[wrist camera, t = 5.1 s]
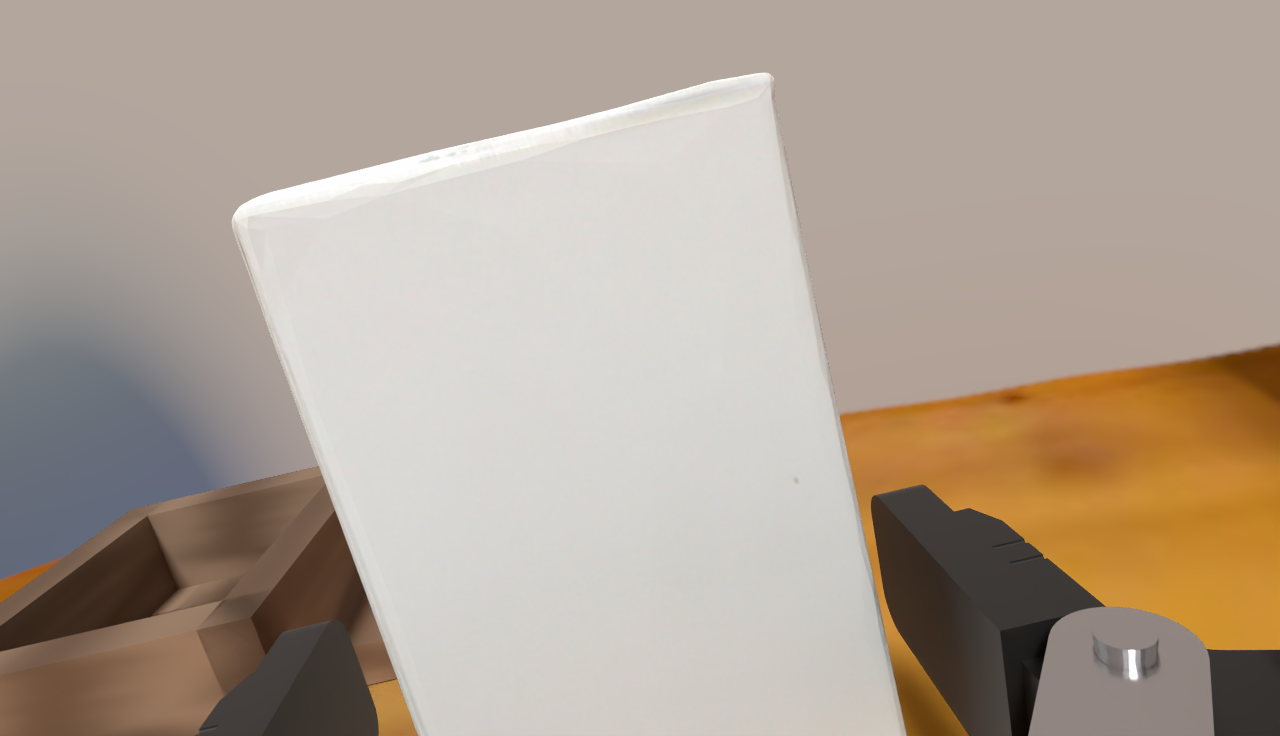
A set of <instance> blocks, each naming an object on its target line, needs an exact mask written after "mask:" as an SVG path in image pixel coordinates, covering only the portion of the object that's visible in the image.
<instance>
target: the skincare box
mask: <svg viewBox="0 0 1280 736" xmlns="http://www.w3.org/2000/svg"><path fill="white" fill-rule="evenodd" d="M232 227H233V232H234V234H235V237H236V240H237V243H238V246H239V248H240V251H241V254H242V256H243V259H244V262H245V265H246V268H247V270H248V273H249V276H250V279H251V281H252V284H253V287H254V290H255V292H256V295H257V298H258V301H259V304H260V307H261V309H262V312H263V315H264V318H265V320H266V323H267V326H268V329H269V331H270V334H271V337H272V339H273V342H274V345H275V348H276V350H277V353H278V356H279V359H280V361H281V364H282V367H283V369H284V372H285V375H286V378H287V380H288V383H289V386H290V388H291V391H292V394H293V397H294V399H295V402H296V405H297V408H298V410H299V413H300V416H301V418H302V421H303V424H304V427H305V429H306V431H307V435H308V437H309V440H310V443H311V446H312V448H313V451H314V454H315V456H316V459H317V462H318V465H319V467H320V470H321V473H322V475H323V478H324V481H325V484H326V486H327V489H328V492H329V494H330V497H331V500H332V503H333V505H334V508H335V511H336V513H337V516H338V519H339V522H340V524H341V527H342V530H343V532H344V535H345V538H346V541H347V543H348V546H349V549H350V551H351V554H352V557H353V560H354V562H355V565H356V568H357V570H358V573H359V576H360V579H361V581H362V584H363V587H364V589H365V592H366V595H367V598H368V600H369V603H370V606H371V608H372V611H373V614H374V617H375V619H376V622H377V625H378V627H379V630H380V633H381V636H382V638H383V641H384V644H385V646H386V649H387V652H388V655H389V657H390V660H391V663H392V666H393V668H394V671H395V674H396V676H397V679H398V682H399V685H400V687H401V690H402V693H403V696H404V698H405V701H406V704H407V706H408V709H409V712H410V715H411V717H412V720H413V723H414V726H415V728H416V731H417V734H418V736H907V733H906V728H905V723H904V718H903V714H902V709H901V705H900V700H899V695H898V691H897V686H896V681H895V677H894V672H893V667H892V663H891V658H890V653H889V649H888V644H887V639H886V635H885V630H884V625H883V620H882V616H881V611H880V606H879V601H878V596H877V592H876V587H875V582H874V578H873V573H872V568H871V563H870V559H869V554H868V549H867V545H866V540H865V535H864V530H863V525H862V520H861V516H860V511H859V506H858V501H857V496H856V492H855V487H854V482H853V478H852V473H851V468H850V464H849V459H848V454H847V450H846V445H845V440H844V436H843V431H842V426H841V421H840V416H839V412H838V407H837V402H836V397H835V392H834V388H833V383H832V378H831V373H830V368H829V363H828V358H827V354H826V349H825V344H824V339H823V334H822V330H821V325H820V320H819V315H818V310H817V305H816V300H815V296H814V291H813V286H812V281H811V276H810V271H809V266H808V261H807V257H806V252H805V246H804V242H803V237H802V232H801V227H800V222H799V217H798V212H797V207H796V202H795V197H794V192H793V187H792V182H791V177H790V172H789V167H788V162H787V157H786V153H785V147H784V143H783V138H782V133H781V128H780V123H779V117H778V111H777V106H776V100H775V79H774V78H773V76H772V75H770V74H768V73H757V74H751V75H745V76H740V77H734V78H729V79H723V80H717V81H712V82H708V83H704V84H701V85H697V86H694V87H690V88H687V89H683V90H679V91H676V92H672V93H669V94H665V95H662V96H658V97H655V98H651V99H648V100H644V101H640V102H637V103H633V104H630V105H626V106H623V107H619V108H616V109H611V110H607V111H604V112H600V113H596V114H592V115H588V116H584V117H581V118H576V119H573V120H569V121H565V122H561V123H557V124H553V125H548V126H543V127H539V128H535V129H531V130H526V131H522V132H517V133H512V134H508V135H504V136H499V137H495V138H491V139H486V140H482V141H477V142H473V143H469V144H464V145H459V146H455V147H451V148H447V149H442V150H437V151H433V152H429V153H425V154H422V155H417V156H414V157H409V158H405V159H401V160H398V161H393V162H390V163H385V164H382V165H378V166H374V167H370V168H366V169H362V170H358V171H354V172H350V173H346V174H342V175H338V176H334V177H330V178H326V179H322V180H318V181H314V182H310V183H306V184H302V185H298V186H294V187H290V188H287V189H282V190H278V191H274V192H270V193H267V194H265V195H262V196H259V197H256V198H254V199H252V200H250V201H249V202H247V203H245V204H243V205H241V206H240V207H239V208H238V210H237V211H236V213H235V214H234V216H233V218H232Z"/></svg>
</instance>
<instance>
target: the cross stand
mask: <svg viewBox="0 0 1280 736" xmlns="http://www.w3.org/2000/svg"><path fill="white" fill-rule="evenodd" d="M330 620H339V621H340V622H341V623H343V625H344V626H345V628H346V629H347V631H348V634H349V636H350V639H351V642H352V644H353V647H354V650H355V653H356V655H357V658H358V661H359V664H360V667H361V669H362V672H363V675H364V678H365V680H366V683H367V685H371V684H375V683H380V682H384V681H388V680H393V679H397V676H396V674H395V671H394V668H393V666H392V663H391V660H390V657H389V655H388V652H387V649H386V646H385V644H384V641H383V638H382V636H381V633H380V630H379V627H378V625H377V622H376V619H375V617H374V614H373V611H372V608H371V606H370V603H369V600H368V598H367V595H366V592H365V589H364V587H363V584H362V581H361V579H360V576H359V573H358V570H357V568H356V565H355V562H354V560H353V557H352V554H351V551H350V549H349V546H348V543H347V541H346V538H345V535H344V532H343V530H342V527H341V524H340V522H339V519H338V516H337V513H336V511H335V508H334V505H333V503H332V500H331V497H330V494H329V492H328V489H327V486H326V484H325V481H324V478H323V475H322V473H321V470H320V467H319V466H318V467H313V468H308V469H304V470H300V471H296V472H291V473H287V474H282V475H278V476H274V477H269V478H265V479H261V480H256V481H252V482H248V483H243V484H239V485H235V486H231V487H226V488H221V489H218V490H213V491H208V492H204V493H200V494H195V495H191V496H187V497H182V498H179V499H174V500H169V501H165V502H161V503H156V504H153V505H148V506H143V507H139V508H135V509H132V510H131V511H129V512H128V513H126V514H125V515H124V516H122V517H121V518H119V519H118V520H117V521H115V522H114V523H112V524H111V525H109V526H108V527H107V528H105V529H104V530H103V531H101V532H100V533H98V534H97V535H96V536H94V537H93V538H91V539H90V540H88V541H87V542H86V543H84V544H83V545H81V546H80V547H79V548H77V549H76V550H74V551H73V552H72V553H70V554H69V555H67V556H66V557H65V558H63V559H62V560H60V561H59V562H58V563H56V564H55V565H53V566H52V567H50V568H49V569H48V570H46V571H45V572H43V573H42V574H41V575H39V576H38V577H36V578H35V579H34V580H32V581H31V582H29V583H28V584H27V585H25V586H24V587H22V588H21V589H20V590H18V591H17V592H15V593H14V594H13V595H11V596H10V597H8V598H7V599H6V600H4V601H3V602H1V603H0V736H194V735H197V734H199V728H200V727H201V726H202V724H203V723H204V721H205V720H206V719H207V717H208V716H209V714H210V713H211V712H212V710H213V709H214V707H215V706H216V705H217V703H218V702H219V701H220V700H221V699H222V698H223V697H224V696H225V695H227V694H228V693H229V692H230V691H231V690H232V689H234V688H235V687H236V686H237V685H238V684H239V683H240V682H242V681H243V680H244V679H245V678H246V677H247V676H248V675H250V674H252V673H254V672H255V671H256V669H257V668H258V666H259V665H260V664H261V662H262V661H263V659H264V658H265V656H266V655H267V653H268V652H269V650H270V649H271V647H272V646H273V645H274V643H275V642H276V640H277V639H278V637H279V636H280V635H281V634H282V633H283V632H284V631H287V630H292V629H296V628H300V627H305V626H309V625H313V624H317V623H322V622H326V621H330Z"/></svg>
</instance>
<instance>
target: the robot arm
mask: <svg viewBox="0 0 1280 736" xmlns="http://www.w3.org/2000/svg"><path fill="white" fill-rule="evenodd" d="M871 512H872V519H873V525H874V532H875V538H876V545H877V551H878V557H879V564H880V570H881V577H882V583H883V589H884V594H885V598H886V602H887V605H888V608H889V611H890V614H891V617H892V619H893V621H894V624H895V626H896V628H897V630H898V631H899V633H900V635H901V636H902V638H903V639H904V640H905V642H906V643H907V645H908V646H909V648H910V649H911V651H912V652H913V654H914V655H915V657H916V658H917V660H918V661H919V663H920V664H921V665H922V667H923V668H924V670H925V671H926V673H927V674H928V676H929V677H930V679H931V680H932V682H933V683H934V685H935V686H936V687H937V689H938V690H939V692H940V693H941V695H942V696H943V698H944V699H945V701H946V702H947V704H948V705H949V707H950V708H951V710H952V711H953V712H954V714H955V715H956V717H957V718H958V720H959V721H960V723H961V724H962V726H963V727H964V729H965V730H966V732H967V733H968V734H969V736H1280V650H1210V649H1206V647H1205V646H1204V644H1203V643H1202V642H1201V640H1200V639H1199V638H1198V637H1197V636H1196V635H1195V634H1193V633H1192V632H1191V631H1190V630H1188V629H1187V628H1185V627H1184V626H1182V625H1180V624H1179V623H1177V622H1174V621H1172V620H1170V619H1168V618H1166V617H1163V616H1160V615H1157V614H1154V613H1150V612H1147V611H1143V610H1137V609H1132V608H1123V607H1106V606H1104V605H1103V604H1102V603H1101V602H1100V601H1098V600H1097V599H1096V598H1095V597H1094V596H1092V595H1091V594H1090V593H1089V592H1088V591H1086V590H1085V589H1084V588H1083V587H1081V586H1080V585H1079V584H1078V583H1077V582H1075V581H1074V580H1073V579H1072V578H1071V577H1069V576H1068V575H1067V574H1066V573H1065V572H1063V571H1062V570H1061V569H1060V568H1059V567H1057V566H1056V565H1055V564H1054V563H1053V562H1051V561H1050V560H1049V559H1048V558H1047V559H1044V557H1043V554H1042V553H1040V552H1039V551H1038V550H1037V549H1036V548H1034V547H1033V546H1032V545H1031V544H1030V543H1025V541H1024V538H1022V537H1021V536H1020V535H1019V534H1018V533H1016V532H1015V531H1014V530H1013V529H1011V528H1010V527H1009V526H1008V525H1007V524H1005V523H1004V522H1003V521H1002V520H999V519H996V518H994V517H991V516H988V515H986V514H983V513H980V512H978V511H975V510H972V509H970V508H968V509H964V510H959V511H955V512H954V511H953V510H952V509H951V508H949V507H948V506H947V505H946V504H945V503H944V502H943V501H942V500H941V499H940V498H938V497H937V496H936V495H935V494H934V493H933V492H932V491H931V490H930V489H929V488H928V487H926V486H925V485H918V486H913V487H909V488H905V489H900V490H896V491H892V492H887V493H883V494H879V495H874V496H873V497H872V500H871ZM378 734H379V732H378V719H377V713H376V709H375V705H374V703H373V700H372V697H371V694H370V691H369V689H368V686H367V683H366V680H365V678H364V675H363V672H362V669H361V667H360V664H359V661H358V658H357V655H356V653H355V650H354V647H353V644H352V642H351V639H350V636H349V634H348V631H347V629H346V628H345V626H344V625H343V623H341V622H340V621H339V620H330V621H326V622H322V623H317V624H313V625H309V626H305V627H300V628H296V629H292V630H287V631H284V632H283V633H282V634H281V635H280V636H279V637H278V639H277V640H276V642H275V643H274V645H273V646H272V647H271V649H270V650H269V652H268V653H267V655H266V656H265V658H264V659H263V661H262V662H261V664H260V665H259V666H258V668H257V669H256V671H255V672H254V673H252V674H250V675H248V676H247V677H246V678H245V679H244V680H243V681H242V682H240V683H239V684H238V685H237V686H236V687H235V688H234V689H232V690H231V691H230V692H229V693H228V694H227V695H225V696H224V697H223V698H222V699H221V700H220V701H219V702H218V703H217V705H216V706H215V707H214V709H213V710H212V712H211V713H210V714H209V716H208V717H207V719H206V720H205V721H204V723H203V724H202V726H201V727H200V728H199V734H197V735H194V736H378Z"/></svg>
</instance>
